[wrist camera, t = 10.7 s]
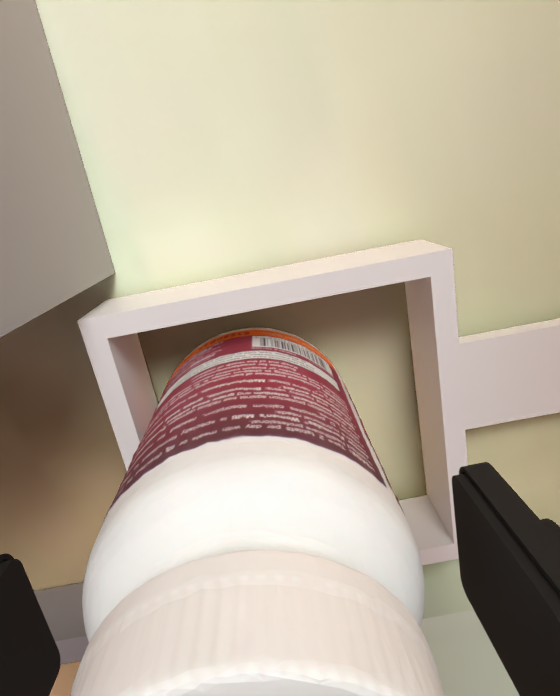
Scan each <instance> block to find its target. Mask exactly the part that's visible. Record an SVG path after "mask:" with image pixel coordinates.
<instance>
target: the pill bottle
mask: <svg viewBox="0 0 560 696" xmlns="http://www.w3.org/2000/svg"><path fill="white" fill-rule="evenodd" d="M424 601H425V582H424V574H423V567H422V562H421V558H420V553H419V550H418V547H417V544H416V541H415V539H414V536H413V533H412V531H411V529H410V526H409V524H408V521H407V519H406V517H405V514H404V512H403V510H402V508H401V506H400V503H399V501H398V498H397V497H396V495H395V494H394V492H393V490H392V488H391V486H390V483H389V481H388V479H387V477H386V474H385V472H384V469H383V467H382V465H381V464H380V461H379V459H378V457H377V454H376V452H375V450H374V448H373V446H372V444H371V442H370V439H369V438H368V435H367V433H366V431H365V429H364V426H363V424H362V421H361V419H360V417H359V415H358V413H357V410H356V408H355V406H354V404H353V402H352V400H351V397H350V395H349V393H348V390H347V388H346V386H345V384H344V382H343V380H342V378H341V377H340V375H339V373H338V371H337V370H336V368H335V367H334V365H333V364H332V363H331V361H330V360H329V359H328V358H327V357H326V356H325V355H324V354H323V353H322V352H321V351H320V350H319V349H318V348H316V347H315V346H314V345H312V344H311V343H309V342H308V341H306V340H304V339H302V338H300V337H298V336H296V335H293V334H290V333H287V332H284V331H280V330H276V329H271V328H245V329H238V330H233V331H229V332H225V333H222V334H220V335H217V336H215V337H213V338H211V339H209V340H207V341H205V342H204V343H202V344H201V345H199V346H197V347H196V348H195V349H194V350H193V351H191V352H190V353H189V354H188V355H187V356H186V357H185V358H184V359H183V361H182V362H181V363H180V364H179V365H178V367H177V368H176V370H175V371H174V373H173V374H172V376H171V378H170V380H169V381H168V383H167V386H166V388H165V390H164V392H163V394H162V397H161V399H160V401H159V403H158V405H157V407H156V409H155V412H154V414H153V416H152V419H151V421H150V422H149V424H148V427H147V429H146V431H145V433H144V435H143V437H142V439H141V441H140V444H139V445H138V448H137V450H136V451H135V453H134V454H133V458H132V461H131V463H130V465H129V468H128V471H127V473H126V475H125V477H124V480H123V482H122V483H121V485H120V488H119V491H118V493H117V495H116V497H115V499H114V501H113V503H112V505H111V507H110V509H109V510H108V513H107V515H106V517H105V520H104V522H103V524H102V527H101V529H100V532H99V534H98V537H97V539H96V541H95V544H94V546H93V549H92V551H91V554H90V557H89V560H88V564H87V567H86V572H85V578H84V584H83V594H82V609H83V618H84V625H85V632H86V635H87V638H88V642H89V644H88V646H87V648H86V651H85V653H84V655H83V658H82V660H81V663H80V665H79V668H78V671H77V674H76V677H75V680H74V683H73V686H72V691H71V695H70V696H445V694H444V692H443V689H442V685H441V681H440V677H439V673H438V669H437V667H436V664H435V661H434V658H433V655H432V652H431V650H430V648H429V646H428V643H427V641H426V639H425V637H424V635H423V632H422V630H421V628H420V627H421V623H422V618H423V612H424Z"/></svg>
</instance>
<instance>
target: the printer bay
mask: <svg viewBox="0 0 560 696" xmlns="http://www.w3.org/2000/svg"><path fill="white" fill-rule="evenodd" d="M114 273H115V270H114V267H113V264H112V260H111V257H110V253H109V250H108V247H107V243H106V240H105V237H104V233H103V230H102V226H101V223H100V220H99V216H98V213H97V209H96V206H95V203H94V199H93V196H92V192H91V189H90V186H89V182H88V179H87V176H86V172H85V169H84V165H83V162H82V159H81V155H80V152H79V148H78V145H77V142H76V138H75V135H74V131H73V128H72V125H71V121H70V118H69V115H68V111H67V108H66V104H65V101H64V98H63V94H62V91H61V87H60V84H59V81H58V77H57V74H56V70H55V67H54V64H53V60H52V57H51V53H50V50H49V47H48V43H47V40H46V37H45V33H44V30H43V26H42V23H41V20H40V16H39V13H38V9H37V6H36V3H35V0H0V337H2V336H4V335H6V334H8V333H9V332H11V331H13V330H15V329H16V328H18V327H20V326H22V325H24V324H25V323H27V322H29V321H31V320H32V319H34V318H36V317H38V316H40V315H41V314H43V313H45V312H47V311H48V310H50V309H52V308H54V307H56V306H57V305H59V304H61V303H63V302H64V301H66V300H68V299H70V298H72V297H73V296H75V295H77V294H79V293H80V292H82V291H84V290H86V289H88V288H89V287H91V286H93V285H95V284H96V283H98V282H100V281H102V280H104V279H105V278H107V277H109V276H111V275H113V274H114ZM83 584H84V582H82V583H76V584H71V585H65V586H60V587H54V588H49V589H43V590H38V591H34V593H35V596H36V598H37V600H38V603H39V605H40V607H41V610H42V612H43V615H44V617H45V619H46V622H47V624H48V626H49V629H50V631H51V633H52V636H53V638H54V640H55V643H56V645H57V647H58V650H59V653H60V659H61V660H60V665H61V664H67V663H72V662H78V661H81V660H82V658H83V655H84V653H85V651H86V648H87V646H88V644H89V642H88V638H87V635H86V632H85V625H84V618H83V609H82V594H83Z"/></svg>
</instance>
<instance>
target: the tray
mask: <svg viewBox="0 0 560 696" xmlns="http://www.w3.org/2000/svg"><path fill="white" fill-rule="evenodd" d="M422 567H423V574H424V582H425V601H424V612H423V618H422V623H421V627H420V628H421V630H422V632H423V635H424V637H425V639H426V641H427V643H428V646H429V648H430V650H431V652H432V655H433V658H434V661H435V664H436V667H437V669H438V673H439V677H440V681H441V685H442V689H443V692H444V694H445V696H520V695H519V693H518V692H517V690H516V688H515V686H514V684H513V682H512V680H511V678H510V677H509V675H508V673H507V671H506V669H505V667H504V665H503V663H502V662H501V660H500V658H499V656H498V654H497V652H496V650H495V648H494V647H493V645H492V643H491V641H490V639H489V637H488V635H487V633H486V632H485V630H484V628H483V626H482V624H481V622H480V620H479V619H478V617H477V615H476V613H475V611H474V609H473V607H472V605H471V604H470V602H469V600H468V598H467V596H466V594H465V591H464V589H463V586H462V582H461V577H460V567H459V559H455V560H449V561H444V562H438V563H433V564H427V565H422Z"/></svg>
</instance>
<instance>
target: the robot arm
mask: <svg viewBox="0 0 560 696" xmlns="http://www.w3.org/2000/svg"><path fill="white" fill-rule="evenodd" d="M452 490H453V501H454V512H455V523H456V534H457V545H458V556H459V567H460V577H461V582H462V586H463V589H464V591H465V594H466V596H467V598H468V600H469V602H470V604H471V605H472V607H473V609H474V611H475V613H476V615H477V617H478V619H479V620H480V622H481V624H482V626H483V628H484V630H485V632H486V633H487V635H488V637H489V639H490V641H491V643H492V645H493V647H494V648H495V650H496V652H497V654H498V656H499V658H500V660H501V662H502V663H503V665H504V667H505V669H506V671H507V673H508V675H509V677H510V678H511V680H512V682H513V684H514V686H515V688H516V690H517V692H518V693H519V695H520V696H560V527H559V526H558V525H557V524H556V523H555V522H553V521H552V520H550V519H542V520H540V519H539V518H538V517H537V516H536V515H535V514H534V512H533V511H532V510H531V509H530V508H529V507H528V506H527V505H526V504H525V502H524V501H523V500H522V499H521V498H520V497H519V496H518V495H517V493H516V492H515V491H514V490H513V489H512V488H511V487H510V486H509V484H508V483H507V482H506V481H505V480H504V479H503V478H502V477H501V476H500V474H499V473H498V472H497V471H496V470H495V469H494V468H493V467H492V465H491V464H489V463H488V462H484V463H479V464H473V465H468V466H463V467H460V469H459V475H454V476H452ZM60 660H61V659H60V653H59V650H58V647H57V645H56V643H55V640H54V638H53V636H52V633H51V631H50V629H49V626H48V624H47V622H46V619H45V617H44V615H43V612H42V610H41V607H40V605H39V603H38V600H37V598H36V596H35V593H34V591H33V589H32V586H31V584H30V582H29V579H28V577H27V575H26V572H25V570H24V568H23V565H22V563H21V562H20V561H19V560H18V559H14V558H13V557H12V556H11V555H10V554H1V555H0V696H49V694H50V692H51V689H52V687H53V685H54V682H55V680H56V678H57V675H58V672H59V669H60Z"/></svg>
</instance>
